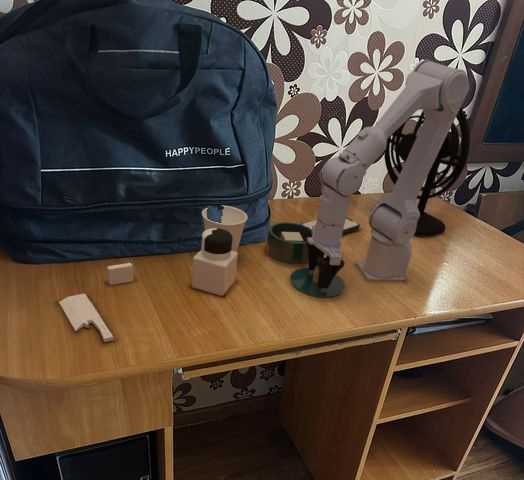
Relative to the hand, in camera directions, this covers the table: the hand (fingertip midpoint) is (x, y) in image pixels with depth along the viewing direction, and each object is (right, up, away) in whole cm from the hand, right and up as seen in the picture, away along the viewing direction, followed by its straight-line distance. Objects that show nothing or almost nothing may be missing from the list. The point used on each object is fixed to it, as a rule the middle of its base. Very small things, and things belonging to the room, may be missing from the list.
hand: (318, 278), depth 111 cm
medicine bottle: (-23, -2, -4) cm, 23 cm away
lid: (0, -1, +1) cm, 1 cm away
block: (-6, +8, +11) cm, 14 cm away
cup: (-22, +5, +5) cm, 23 cm away
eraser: (-41, -2, -7) cm, 42 cm away
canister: (-6, +7, +11) cm, 14 cm away
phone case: (+6, +17, +26) cm, 31 cm away
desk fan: (+30, +22, +37) cm, 52 cm away
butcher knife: (-44, -11, -19) cm, 50 cm away
